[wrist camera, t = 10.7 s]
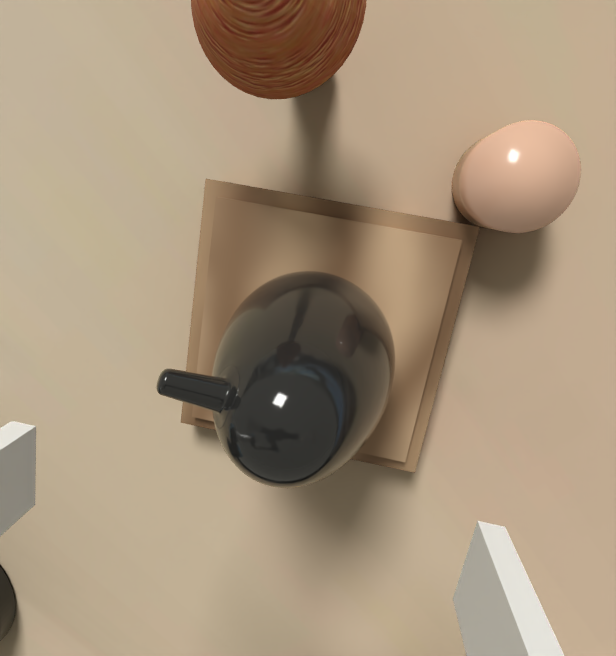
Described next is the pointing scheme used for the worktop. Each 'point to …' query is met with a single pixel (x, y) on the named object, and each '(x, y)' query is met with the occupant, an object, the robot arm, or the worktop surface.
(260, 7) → the mushroom
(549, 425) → the worktop surface
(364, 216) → the walnut tray
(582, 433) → the worktop surface
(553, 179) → the pink rounded glossy part
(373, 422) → the pump dispenser
